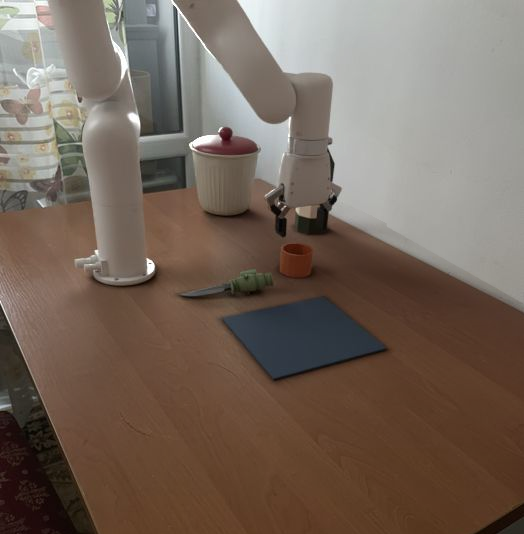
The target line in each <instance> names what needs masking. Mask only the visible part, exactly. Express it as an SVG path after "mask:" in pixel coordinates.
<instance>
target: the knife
mask: <svg viewBox="0 0 524 534" xmlns="http://www.w3.org/2000/svg"><path fill="white" fill-rule="evenodd" d="M239 273H240V276H239V277H237V278H233V279H229V280H228V283H221V284H219V285H213V286H209V287H204V288H200V289H197V290H192V291H188V292H184V293H179V295H180V296H183V297H191V298H193V297H204V296H209V295H213V294H220V293H224V292H227V291H230V292H231V294H232V295H234V294H235V293H238V292H240V293H246V294H247V295H250V292H255V291H257V290H262V289H265V288H266V287H274V278H273V273H272V272H265V274H264V273H258V271H257V270H256V268H253V269H247V270H242V271H241V270H240V271H239Z"/></svg>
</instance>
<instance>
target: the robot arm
mask: <svg viewBox="0 0 524 534" xmlns="http://www.w3.org/2000/svg"><path fill="white" fill-rule="evenodd" d="M170 1H171V2H172V4H173V5H174V6H175V7H176V9H177V10H178V12H179V13H180V14H181V16H182V17H183V19H184V20H185V21H186V22H187V24H188V26H189V27H190V28H191V30H192V31H193V33H194V34H195V36H196V38H198V39H199V41H200V42H201V44H202V45H203V46H204V48H205V49H206V51H207V52H208V53H209V54H210V55H211V56H212V57H213V58H214V59H215V60H216V61H217V63H218V64H219V65H220V66H221V67H222V69H223V70H224V72H225V73H226V74H227V76H228V77H229V79H230V80H231V81H232V82H233V84H234V85H235V87H236V88H237V89H238V91H239V92H240V94H241V95H242V96H243V98H244V99H245V101H246V102H247V104H248V105H249V106H250V108H251V109H252V110H253V112H254V113H255V114H256V116H257V117H258V118H259V119H260V120H261V121H263V122H264V123H266V124H269V125H280V124H282V123H284V122H286V121H288V134H287V135H288V137H287V151H284V152H283V153H282V157H281V159H280V160H281V161H280V164H279V171H278V176H277V182H276V183H277V184H276V187H275V188H274V189H273V190H270V192H268V193H267V194H265V195H264V197H263V199H264V201H265V204H266V206H267V208H268V210H270V211H271V213H273V215H274V216H275V218H274V231H275V233H276V234H277V235H278V236H280V237H281V238H286V237H287V228H288V218H286V215H287V214H288V213H289V212H290V210H291V209H296V208H298V207H305V206H311V205H318V204H319V205H320V207H318V209H317V217H316V226H317V227H319V228H320V229H322V230H326V228H327V229H328V222H329V215H328V214H330V212H331V211H332V209H333V206H334V205H335V204H336V203H337V202H338V198H339V196H340V194H341V192H342V191H343V188H342V187H341V186H339V185H337V184H336V183H334V182H330V158H329V153H328V152H327V149H329V146H331V145H332V144H333V138H332V137H331V136H330V137H329V135H330V134H329V133H330V123H331V112H332V103H333V102H332V100H333V90H334V82H333V79H332V77H331V76H330V75H328V74H325V73H320V72H299V73H293V72H284V71H283V69H282V68H281V67H280V65H279V64H278V62H277V60H276V59H275V57H274V56H273V55H272V53H271V52H270V50H269V48H268V47H267V45H266V44H265V43H264V40H263V39H262V37H260V35H259V34H258V32H257V30H256V29H255V27H254V26H253V24H252V22H251V20H250V18H249V16H248V15H247V13H246V12H245V10H244V9H243V7H242V5H241V4H240V3H239V1H238V0H170ZM47 4H48V8H49V13H50V16H51V19H52V23H53V27H54V32H55V35H56V38H57V43H58V45H59V49H60V53H61V56H62V60H63V65H64V68H65V72H66V76H67V79H68V82H69V84H70V85H71V87H72V89H73V90H74V91H75V92H76V94H78V95H80V96H81V98H82V101H83V104H84V108H85V112H86V115H87V118H86V120H85V121H84V125H83V128H82V132H81V133H82V134H81V146H82V152H83V158H84V163H85V167H86V172H87V178H88V184H89V185H88V186H89V193H90V199H91V207H92V215H93V222H94V231H95V239H96V246H97V249H95V250H94V251H93V253H94V254H93V255H90V256H89V257H85V258H84V257H82V258H75V259H74V266H75V269H76V270H78V269H80V270H81V269H83V270H84V272H85V273H86V272H92V276H93V277H94V279H95V280H97V281H98V282H99V283H102V284H105V285H110V286H120V287H121V286H133V285H137V284H142V283H144V282H146V281H148V280H150V279H151V278H153V277H154V275H155V274H156V265H155V263H154V262H153V261H152V260H151V259H149V258H148V251H147V239H146V227H145V211H144V201H143V200H144V199H143V198H144V197H143V187H142V175H141V164H140V150H139V148H140V147H139V145H140V143H139V142H140V135H141V121H140V116H139V111H138V106H137V103H136V97H135V94H134V90H133V86H132V82H131V77H130V72H129V69H128V65H127V60H126V58H125V55H124V53H123V51H122V50H121V48H120V47H119V45H118V44H117V43H116V42H115V41H114V40H113V37H112V34H111V29H110V25H109V21H108V16H107V11H106V6H105V2H104V0H47ZM330 189H331V190H332V191H331V195H329V192H330ZM275 200H276V201H277V202H278V203H277V204H276V203H275Z"/></svg>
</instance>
